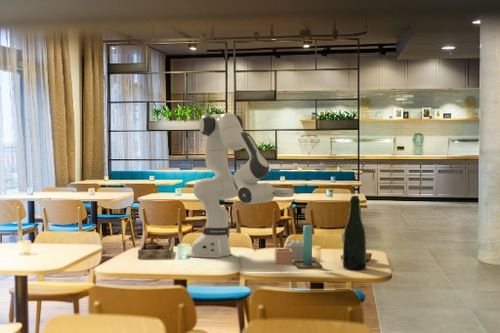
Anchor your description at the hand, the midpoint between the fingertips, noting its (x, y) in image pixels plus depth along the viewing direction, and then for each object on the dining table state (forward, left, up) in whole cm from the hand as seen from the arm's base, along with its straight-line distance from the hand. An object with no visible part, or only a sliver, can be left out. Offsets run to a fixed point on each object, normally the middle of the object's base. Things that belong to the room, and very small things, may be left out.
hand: (281, 190), depth 295 cm
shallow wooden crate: (-62, +21, -34) cm, 73 cm away
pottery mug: (-63, +18, -34) cm, 74 cm away
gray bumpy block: (+8, +10, -34) cm, 37 cm away
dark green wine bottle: (+31, -17, -34) cm, 49 cm away
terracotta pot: (0, -5, -34) cm, 34 cm away
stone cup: (+36, +1, -34) cm, 50 cm away
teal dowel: (+10, -14, -33) cm, 37 cm away
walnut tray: (+10, -14, -34) cm, 38 cm away
